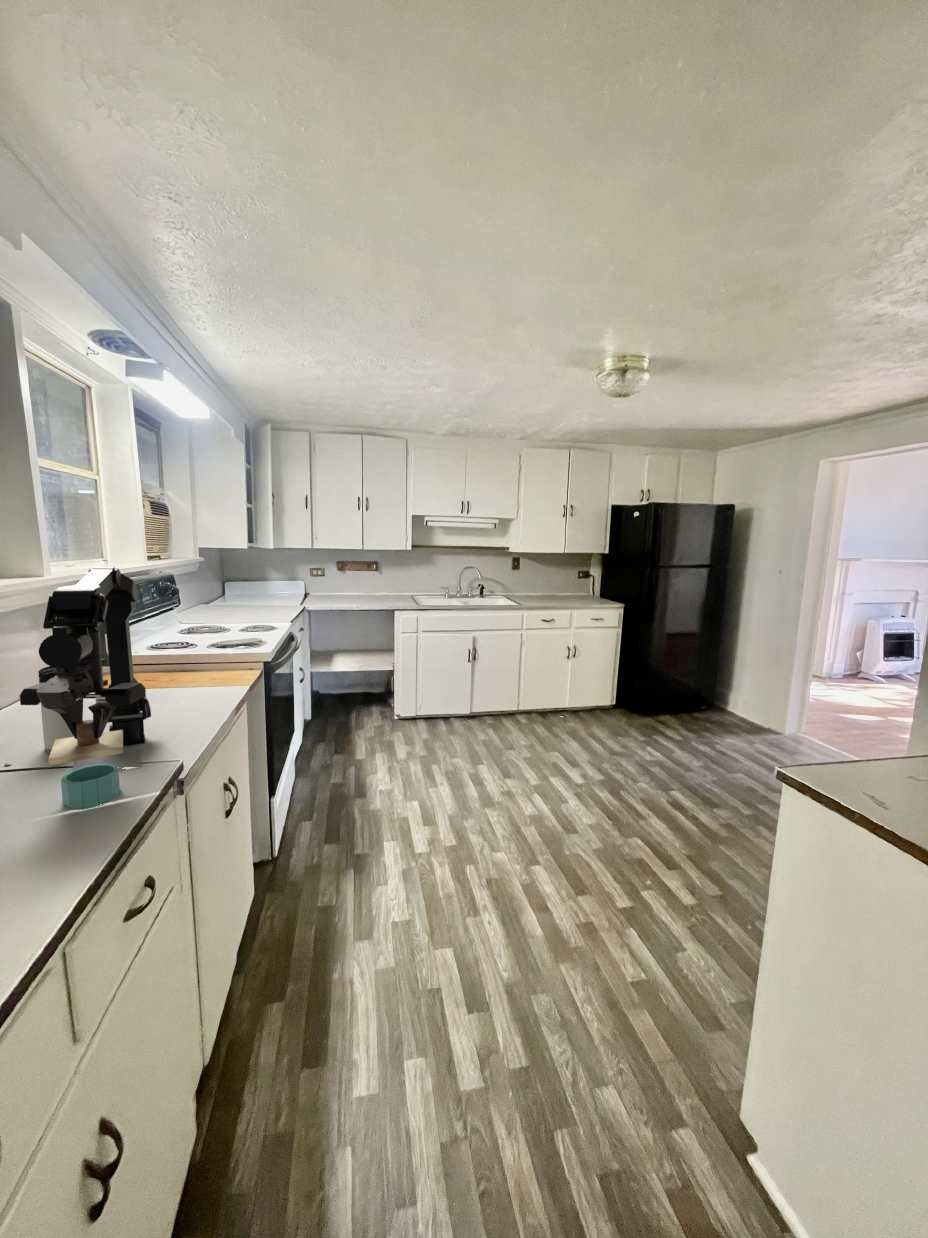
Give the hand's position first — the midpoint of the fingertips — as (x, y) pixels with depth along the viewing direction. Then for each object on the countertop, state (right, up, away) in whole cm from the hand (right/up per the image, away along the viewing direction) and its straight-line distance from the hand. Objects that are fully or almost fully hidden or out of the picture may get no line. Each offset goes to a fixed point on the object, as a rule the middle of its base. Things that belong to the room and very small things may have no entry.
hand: (88, 738), depth 91 cm
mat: (-8, -10, +16) cm, 20 cm away
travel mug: (-25, -9, +24) cm, 36 cm away
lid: (0, -2, 0) cm, 2 cm away
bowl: (0, -12, +1) cm, 12 cm away
